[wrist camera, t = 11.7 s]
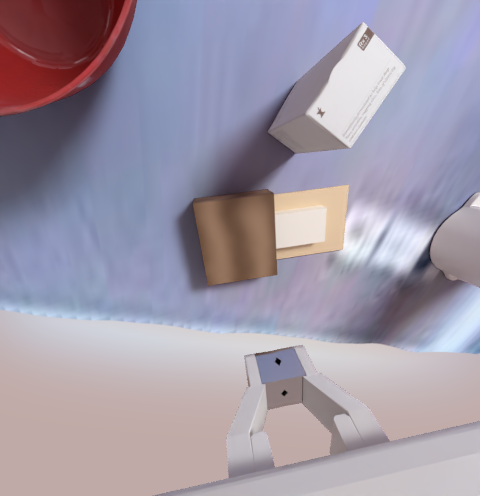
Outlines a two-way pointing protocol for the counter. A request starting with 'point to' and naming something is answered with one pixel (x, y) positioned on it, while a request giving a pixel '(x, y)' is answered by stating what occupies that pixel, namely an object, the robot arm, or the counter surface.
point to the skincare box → (338, 95)
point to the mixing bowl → (57, 48)
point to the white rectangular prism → (300, 226)
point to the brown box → (237, 235)
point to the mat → (335, 217)
